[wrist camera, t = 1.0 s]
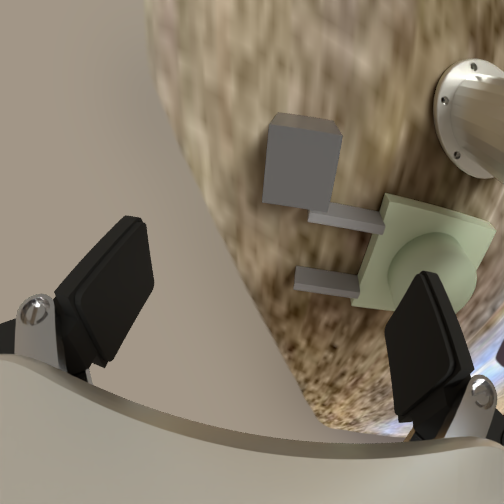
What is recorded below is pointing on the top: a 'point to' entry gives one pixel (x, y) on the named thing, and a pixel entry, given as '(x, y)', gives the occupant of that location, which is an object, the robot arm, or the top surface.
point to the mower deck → (405, 230)
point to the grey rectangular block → (301, 161)
